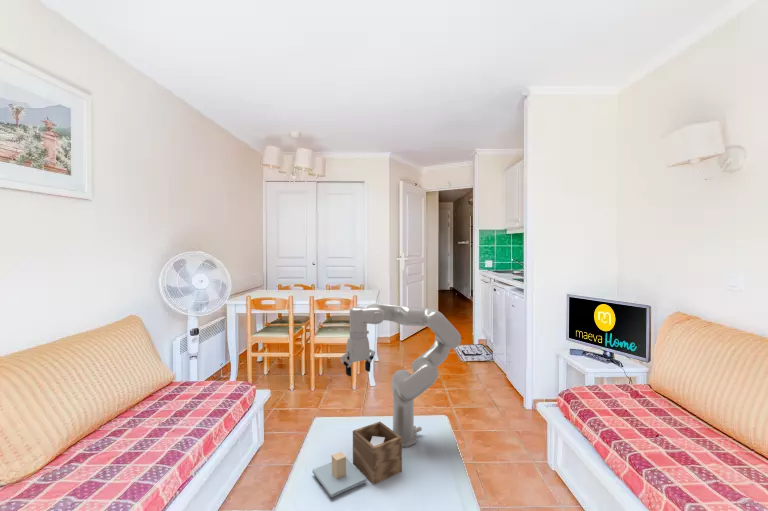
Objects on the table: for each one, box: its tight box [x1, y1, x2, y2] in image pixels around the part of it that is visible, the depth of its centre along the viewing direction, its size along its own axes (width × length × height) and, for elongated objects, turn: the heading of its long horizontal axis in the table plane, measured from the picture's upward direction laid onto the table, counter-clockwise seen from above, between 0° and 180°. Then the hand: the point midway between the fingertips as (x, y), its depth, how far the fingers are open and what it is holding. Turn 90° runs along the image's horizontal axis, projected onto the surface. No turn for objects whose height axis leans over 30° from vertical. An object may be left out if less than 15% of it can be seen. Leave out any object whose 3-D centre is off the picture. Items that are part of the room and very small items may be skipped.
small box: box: [370, 436, 385, 446], centre depth 138 cm, size 8×6×10 cm
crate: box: [352, 421, 403, 486], centre depth 138 cm, size 13×15×14 cm
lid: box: [311, 451, 367, 498], centre depth 130 cm, size 14×16×9 cm
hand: (358, 373), depth 153 cm, fingers open, 9 cm apart
